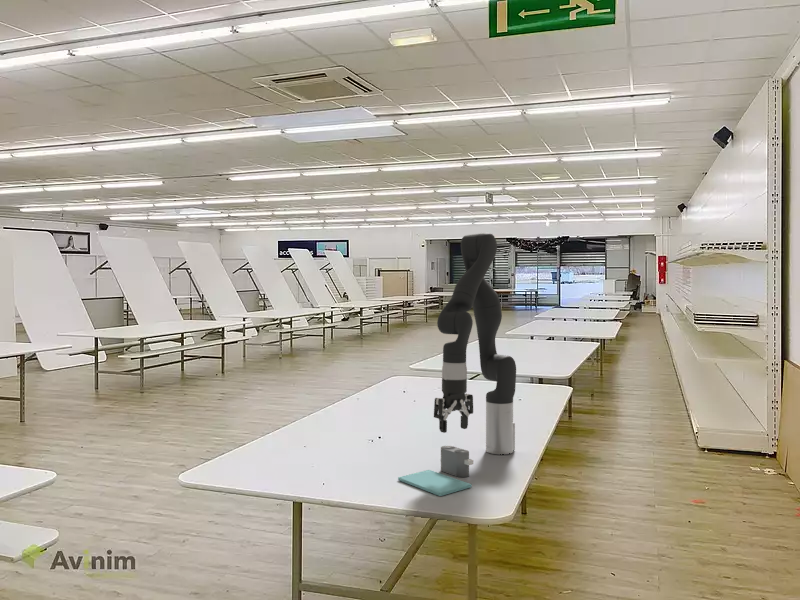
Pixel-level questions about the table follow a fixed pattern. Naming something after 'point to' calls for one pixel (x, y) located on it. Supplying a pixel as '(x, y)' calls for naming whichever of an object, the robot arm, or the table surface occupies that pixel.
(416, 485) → the mat
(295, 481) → the table surface
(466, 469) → the plug block
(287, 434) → the table surface
